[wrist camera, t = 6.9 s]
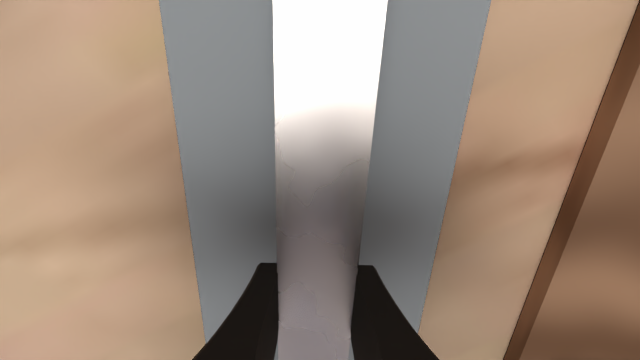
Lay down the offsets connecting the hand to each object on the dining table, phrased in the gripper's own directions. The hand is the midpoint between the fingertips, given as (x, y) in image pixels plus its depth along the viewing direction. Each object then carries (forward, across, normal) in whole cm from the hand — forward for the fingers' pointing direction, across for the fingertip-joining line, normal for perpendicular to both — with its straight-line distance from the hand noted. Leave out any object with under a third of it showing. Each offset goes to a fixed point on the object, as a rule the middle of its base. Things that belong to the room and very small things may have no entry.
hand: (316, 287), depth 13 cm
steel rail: (+2, 0, 0) cm, 2 cm away
